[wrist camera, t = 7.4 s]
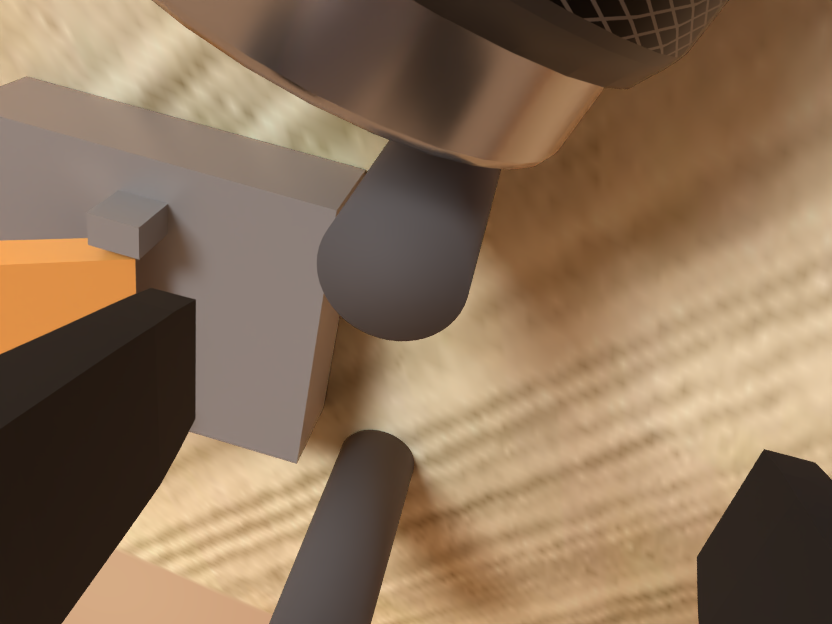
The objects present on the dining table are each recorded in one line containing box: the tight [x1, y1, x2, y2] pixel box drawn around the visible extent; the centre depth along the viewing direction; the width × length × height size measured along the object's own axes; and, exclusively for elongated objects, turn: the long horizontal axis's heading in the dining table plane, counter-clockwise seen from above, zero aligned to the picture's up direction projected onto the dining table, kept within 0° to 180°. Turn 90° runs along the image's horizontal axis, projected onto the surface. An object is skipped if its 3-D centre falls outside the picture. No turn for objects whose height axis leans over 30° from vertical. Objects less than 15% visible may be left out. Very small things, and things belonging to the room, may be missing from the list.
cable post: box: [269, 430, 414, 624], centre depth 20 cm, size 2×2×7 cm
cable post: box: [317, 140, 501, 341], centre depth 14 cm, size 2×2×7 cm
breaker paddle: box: [0, 238, 136, 354], centre depth 17 cm, size 1×4×4 cm
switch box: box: [0, 77, 365, 464], centre depth 19 cm, size 9×8×4 cm
